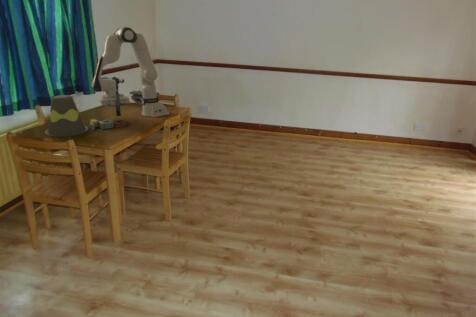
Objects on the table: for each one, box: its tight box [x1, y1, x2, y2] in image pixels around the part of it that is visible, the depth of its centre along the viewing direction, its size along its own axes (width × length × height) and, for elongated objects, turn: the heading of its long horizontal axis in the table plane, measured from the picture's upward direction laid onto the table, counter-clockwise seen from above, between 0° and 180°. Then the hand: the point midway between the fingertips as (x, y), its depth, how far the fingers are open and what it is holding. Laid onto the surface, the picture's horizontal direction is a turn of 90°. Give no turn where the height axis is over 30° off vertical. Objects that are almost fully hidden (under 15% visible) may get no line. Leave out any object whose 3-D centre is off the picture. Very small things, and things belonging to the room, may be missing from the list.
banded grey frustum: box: [44, 94, 89, 138], centre depth 251 cm, size 28×28×24 cm
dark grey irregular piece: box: [129, 90, 160, 106], centre depth 336 cm, size 25×8×11 cm, turn 79°
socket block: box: [88, 119, 115, 131], centre depth 263 cm, size 15×8×4 cm, turn 124°
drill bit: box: [114, 88, 122, 117], centre depth 265 cm, size 3×3×19 cm
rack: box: [112, 119, 128, 128], centre depth 270 cm, size 8×8×3 cm
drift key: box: [89, 118, 100, 128], centre depth 266 cm, size 4×8×4 cm, turn 34°
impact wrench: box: [101, 76, 125, 85], centre depth 327 cm, size 8×22×25 cm, turn 78°
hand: (118, 102), depth 264 cm, fingers closed on drill bit, 3 cm apart
